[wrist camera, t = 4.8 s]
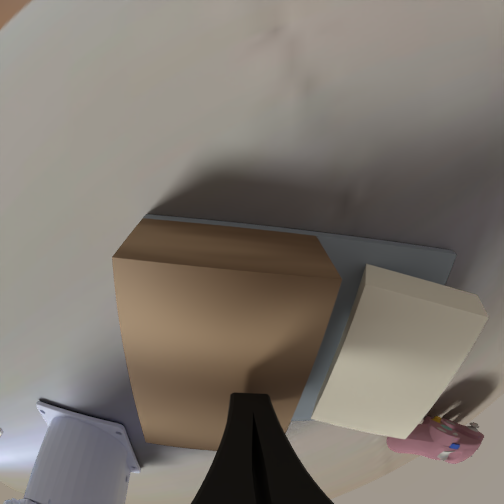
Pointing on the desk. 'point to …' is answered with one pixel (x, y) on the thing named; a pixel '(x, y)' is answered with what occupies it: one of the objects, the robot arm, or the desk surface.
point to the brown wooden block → (218, 322)
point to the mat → (351, 284)
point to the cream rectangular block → (397, 352)
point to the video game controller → (440, 440)
